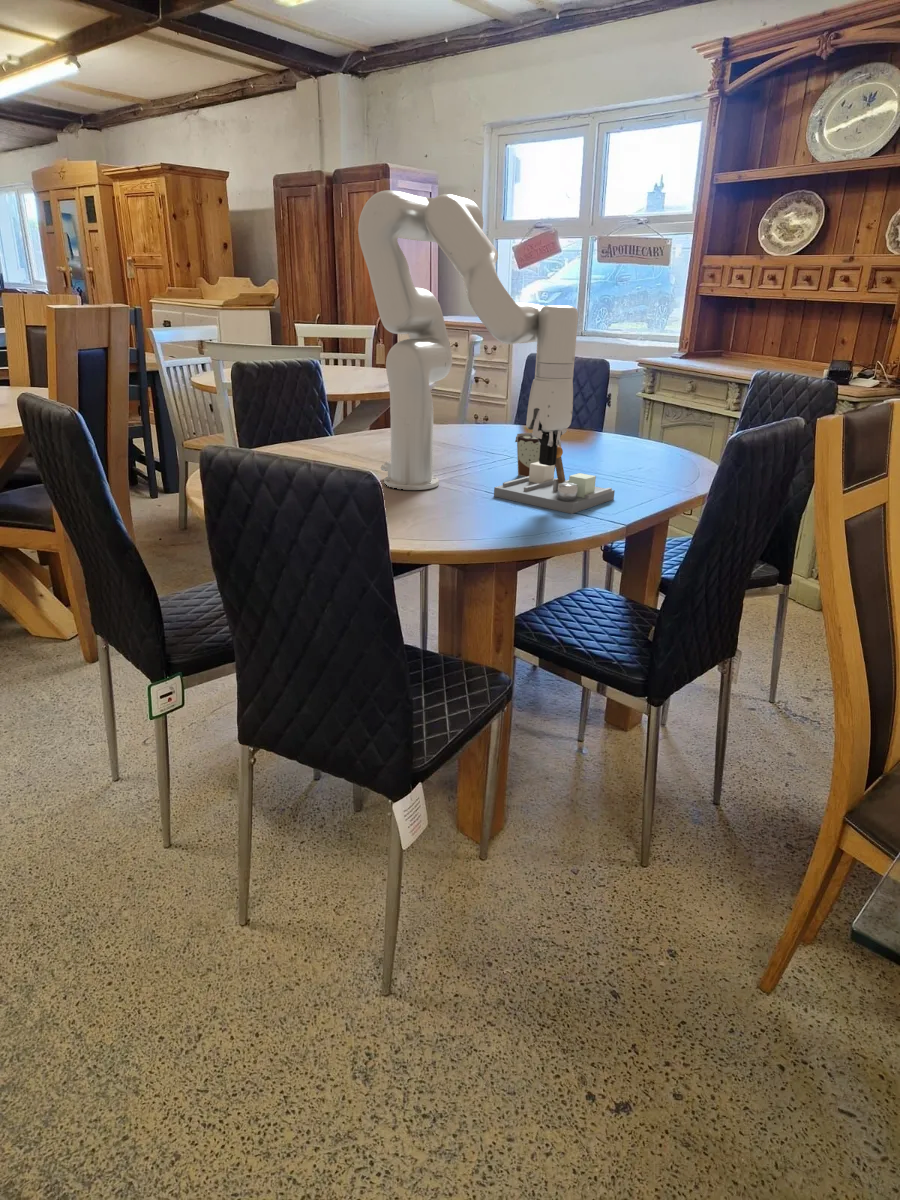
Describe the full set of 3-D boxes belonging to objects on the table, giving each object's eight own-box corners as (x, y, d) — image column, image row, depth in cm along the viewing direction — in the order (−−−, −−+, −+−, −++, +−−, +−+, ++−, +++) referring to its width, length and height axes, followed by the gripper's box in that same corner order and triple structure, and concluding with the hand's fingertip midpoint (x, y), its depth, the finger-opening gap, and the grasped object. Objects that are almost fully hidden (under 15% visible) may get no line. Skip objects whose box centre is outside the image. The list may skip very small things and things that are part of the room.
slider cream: (528, 481, 171) (529, 463, 170) (538, 478, 174) (540, 461, 173) (543, 484, 169) (544, 466, 168) (553, 481, 172) (554, 463, 170)
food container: (568, 479, 184) (572, 437, 180) (553, 483, 180) (557, 440, 176) (528, 471, 192) (530, 430, 188) (513, 474, 187) (515, 433, 184)
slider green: (567, 494, 161) (569, 475, 159) (577, 491, 164) (579, 473, 162) (584, 497, 158) (585, 478, 157) (594, 494, 161) (595, 476, 160)
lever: (554, 489, 164) (546, 448, 158) (561, 483, 166) (553, 442, 159) (564, 492, 163) (557, 450, 156) (571, 485, 164) (564, 444, 158)
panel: (493, 496, 166) (494, 476, 165) (538, 484, 178) (539, 465, 177) (572, 513, 154) (574, 492, 152) (614, 499, 166) (616, 479, 165)
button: (553, 499, 157) (554, 484, 156) (564, 495, 160) (565, 481, 159) (570, 502, 154) (571, 488, 153) (580, 499, 157) (581, 484, 156)
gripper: (559, 368, 158) (553, 457, 165) (516, 372, 147) (510, 466, 154) (590, 371, 153) (582, 462, 160) (548, 375, 143) (541, 472, 150)
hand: (547, 464), depth 157 cm, fingers closed
